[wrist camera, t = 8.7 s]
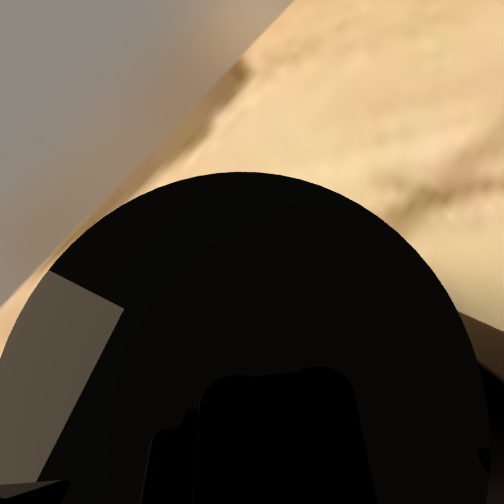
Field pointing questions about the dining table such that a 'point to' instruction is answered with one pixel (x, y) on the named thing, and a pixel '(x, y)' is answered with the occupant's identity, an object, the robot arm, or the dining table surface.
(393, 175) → the dining table surface
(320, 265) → the supplement container
